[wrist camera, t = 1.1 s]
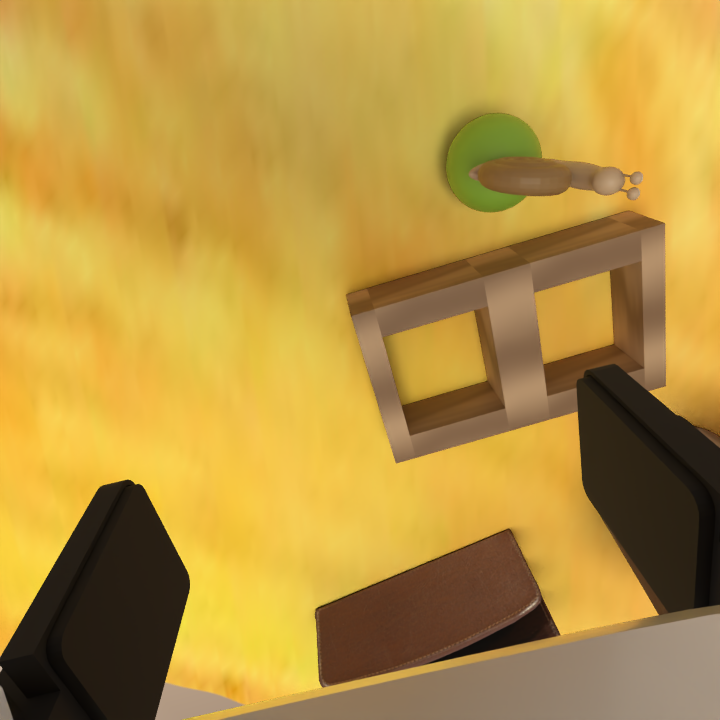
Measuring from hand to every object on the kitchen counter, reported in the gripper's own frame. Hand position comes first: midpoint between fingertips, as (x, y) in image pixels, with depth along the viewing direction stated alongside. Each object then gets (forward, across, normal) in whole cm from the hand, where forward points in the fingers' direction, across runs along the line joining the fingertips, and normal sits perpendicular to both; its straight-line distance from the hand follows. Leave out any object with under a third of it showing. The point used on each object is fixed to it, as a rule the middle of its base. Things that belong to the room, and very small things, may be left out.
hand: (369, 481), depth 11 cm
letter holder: (+28, 0, +37) cm, 46 cm away
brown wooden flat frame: (+26, -10, +10) cm, 30 cm away
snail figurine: (+26, -10, -2) cm, 28 cm away
